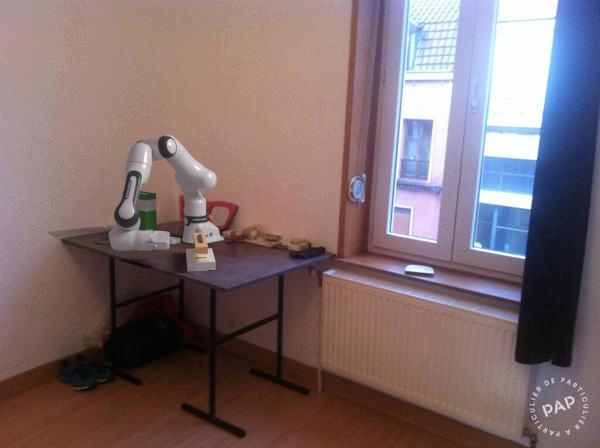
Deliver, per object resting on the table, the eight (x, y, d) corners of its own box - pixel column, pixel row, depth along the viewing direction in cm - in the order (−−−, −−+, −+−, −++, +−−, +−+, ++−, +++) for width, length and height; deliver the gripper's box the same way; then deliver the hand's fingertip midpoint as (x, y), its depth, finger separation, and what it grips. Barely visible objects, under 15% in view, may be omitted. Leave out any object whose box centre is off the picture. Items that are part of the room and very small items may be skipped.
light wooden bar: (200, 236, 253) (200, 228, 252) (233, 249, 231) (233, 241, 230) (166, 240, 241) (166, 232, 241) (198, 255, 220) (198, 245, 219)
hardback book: (123, 234, 287) (122, 191, 283) (134, 232, 294) (133, 189, 289) (146, 239, 278) (145, 194, 274) (156, 237, 285) (156, 193, 280)
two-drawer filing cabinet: (185, 254, 252) (185, 237, 251) (211, 253, 255) (211, 237, 254) (187, 271, 225) (187, 253, 223) (215, 270, 228) (215, 252, 226)
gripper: (146, 238, 217) (180, 238, 220) (148, 228, 236) (180, 228, 239) (146, 253, 218) (180, 253, 221) (148, 242, 237) (180, 242, 241)
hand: (180, 240), depth 230 cm, fingers closed
